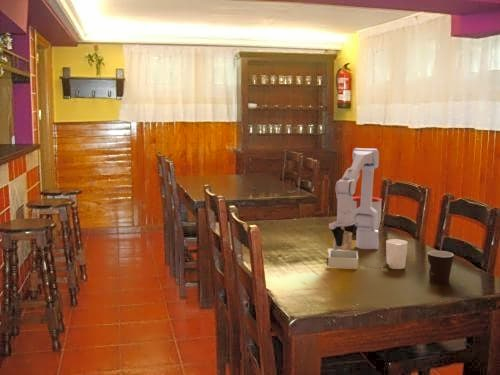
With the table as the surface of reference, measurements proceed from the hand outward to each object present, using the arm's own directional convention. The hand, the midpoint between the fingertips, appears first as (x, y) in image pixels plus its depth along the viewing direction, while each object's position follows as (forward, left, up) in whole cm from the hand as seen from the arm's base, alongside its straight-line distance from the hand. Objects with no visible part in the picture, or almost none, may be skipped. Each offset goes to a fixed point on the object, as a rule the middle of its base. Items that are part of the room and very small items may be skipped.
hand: (343, 244), depth 208 cm
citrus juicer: (-10, -56, -8) cm, 57 cm away
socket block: (0, 0, -1) cm, 1 cm away
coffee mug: (-34, +14, -8) cm, 38 cm away
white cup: (-20, 0, -8) cm, 22 cm away
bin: (0, 0, -8) cm, 8 cm away
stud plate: (+3, -15, -8) cm, 17 cm away
